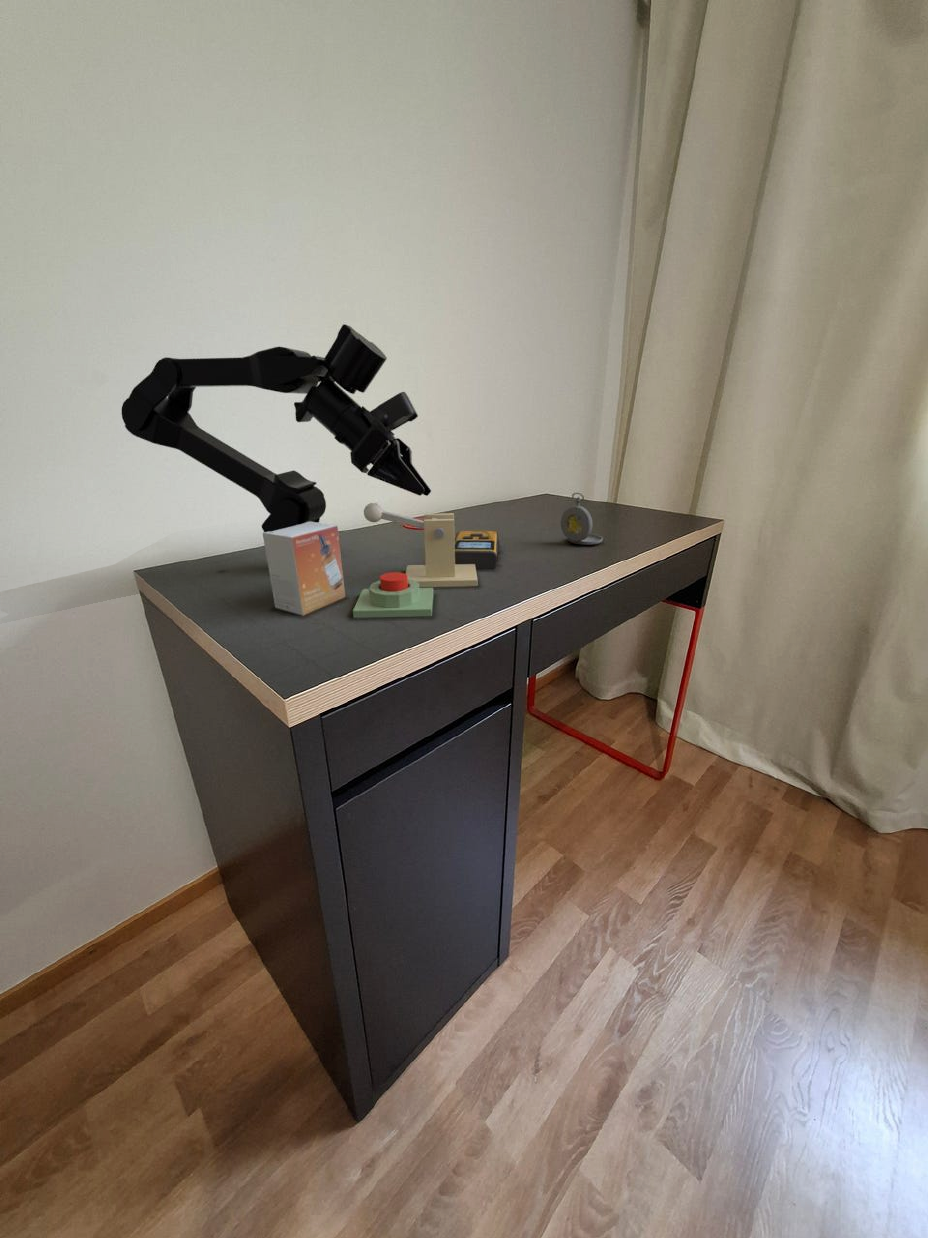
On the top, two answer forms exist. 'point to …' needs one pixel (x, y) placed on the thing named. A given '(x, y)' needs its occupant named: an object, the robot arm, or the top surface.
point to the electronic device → (477, 548)
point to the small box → (305, 566)
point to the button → (393, 582)
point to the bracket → (441, 556)
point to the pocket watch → (579, 525)
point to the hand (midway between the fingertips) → (426, 493)
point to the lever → (389, 516)
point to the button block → (394, 602)
